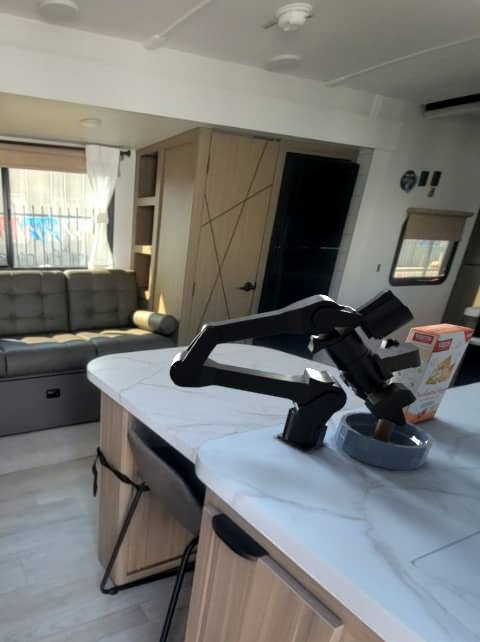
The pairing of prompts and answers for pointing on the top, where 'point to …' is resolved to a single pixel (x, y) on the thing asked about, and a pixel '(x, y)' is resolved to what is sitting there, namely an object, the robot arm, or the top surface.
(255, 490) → the top surface
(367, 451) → the bowl
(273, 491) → the top surface
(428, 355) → the cracker box
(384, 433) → the brown flanged rod
